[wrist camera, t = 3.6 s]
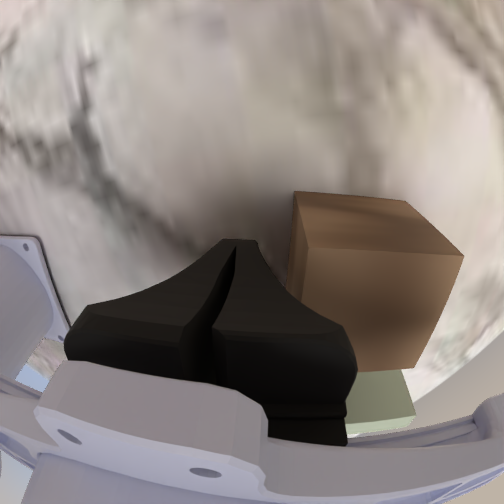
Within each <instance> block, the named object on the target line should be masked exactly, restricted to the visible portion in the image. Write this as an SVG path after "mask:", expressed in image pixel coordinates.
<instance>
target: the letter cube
mask: <svg viewBox="0 0 504 504" xmlns="http://www.w3.org/2000/svg"><path fill="white" fill-rule="evenodd" d="M463 258H464V255H463V254H462V253H461V252H460V251H459V250H458V249H457V248H456V247H455V246H454V245H453V244H452V243H451V242H450V241H449V240H448V239H447V238H446V237H445V236H444V235H443V234H442V233H441V232H439V231H438V230H437V229H436V228H435V227H434V226H433V225H432V224H431V223H430V222H429V221H428V220H427V219H425V218H424V217H423V216H422V215H421V214H420V213H419V212H418V211H416V210H415V209H414V208H413V207H412V206H411V205H410V204H408V203H407V202H406V201H400V200H392V199H383V198H374V197H364V196H353V195H342V194H330V193H317V192H302V191H294V204H293V217H292V229H291V240H290V251H289V262H288V272H287V282H286V290H287V291H288V292H289V293H290V294H291V295H292V296H294V297H295V298H296V299H297V300H299V301H300V302H301V303H303V304H304V305H305V306H307V307H308V308H310V309H312V310H313V311H315V312H316V313H318V314H320V315H321V316H323V317H326V318H328V319H330V320H332V321H334V322H336V323H338V324H340V325H342V326H343V327H344V329H345V331H346V334H347V336H348V338H349V340H350V342H351V345H352V347H353V350H354V353H355V356H356V360H357V366H358V372H374V371H388V370H399V369H409V368H414V367H415V365H416V363H417V361H418V360H419V358H420V356H421V354H422V352H423V350H424V348H425V347H426V345H427V343H428V341H429V339H430V337H431V335H432V333H433V331H434V329H435V327H436V324H437V322H438V320H439V318H440V316H441V314H442V311H443V309H444V307H445V305H446V302H447V300H448V298H449V295H450V293H451V290H452V288H453V285H454V283H455V280H456V278H457V275H458V272H459V270H460V267H461V264H462V261H463Z"/></svg>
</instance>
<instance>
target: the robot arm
mask: <svg viewBox="0 0 504 504" xmlns="http://www.w3.org/2000/svg"><path fill="white" fill-rule="evenodd" d="M43 337H44V338H47V339H51V340H54V341H58V342H62V343H64V351H65V353H66V356H67V358H68V361H63V362H62V363H61V364H60V366H59V367H58V368H57V370H56V371H55V373H54V375H53V376H52V378H51V380H50V381H49V383H48V385H47V387H46V388H45V390H44V392H43V393H42V392H39V391H37V390H35V389H33V388H30V387H28V386H26V385H24V384H22V383H19V382H17V381H15V379H16V377H17V375H18V374H19V372H20V371H21V369H22V367H23V366H24V365H25V363H26V362H27V360H28V359H29V357H30V356H31V354H32V353H33V352H34V350H35V349H36V347H37V346H38V344H39V343H40V342H41V340H42V339H43ZM357 372H358V366H357V360H356V356H355V353H354V350H353V347H352V345H351V342H350V340H349V338H348V336H347V334H346V331H345V329H344V327H343V326H342V325H340V324H338V323H336V322H334V321H332V320H330V319H328V318H326V317H323V316H321V315H320V314H318V313H316V312H315V311H313V310H312V309H310V308H308V307H307V306H305V305H304V304H303V303H301V302H300V301H299V300H297V299H296V298H295V297H294V296H292V295H291V294H290V293H289V292H288V291H287V290H286V289H285V288H284V287H283V286H282V285H281V284H280V282H279V281H278V280H277V279H276V277H275V276H274V275H273V273H272V272H271V270H270V269H269V267H268V266H267V264H266V262H265V260H264V259H263V257H262V255H261V252H260V250H259V247H258V243H257V242H256V241H255V240H240V239H222V240H221V241H220V242H219V243H218V244H216V245H215V246H214V247H213V248H212V249H211V250H209V251H208V252H207V253H206V254H205V255H203V256H202V257H201V258H200V259H198V260H197V261H196V262H194V263H193V264H191V265H190V266H189V267H187V268H186V269H184V270H183V271H181V272H180V273H178V274H176V275H174V276H173V277H171V278H169V279H167V280H165V281H163V282H161V283H159V284H157V285H154V286H152V287H150V288H147V289H145V290H143V291H140V292H137V293H134V294H131V295H128V296H125V297H122V298H118V299H114V300H110V301H105V302H100V303H96V304H91V305H87V306H86V308H85V309H84V310H83V312H82V313H81V314H80V316H79V317H78V318H77V320H76V321H75V323H74V324H73V326H72V327H71V328H69V326H68V323H67V321H66V319H65V316H64V314H63V311H62V309H61V306H60V304H59V301H58V298H57V296H56V293H55V290H54V287H53V284H52V282H51V279H50V276H49V273H48V269H47V266H46V263H45V260H44V257H43V253H42V250H41V246H40V243H39V241H38V240H37V239H36V238H34V237H22V236H0V449H1V450H3V451H4V452H6V453H7V454H9V455H10V456H11V457H13V458H14V459H16V460H17V461H19V462H20V463H22V464H23V465H25V466H27V467H28V468H30V469H31V470H33V473H32V476H31V478H30V481H29V483H28V486H27V489H26V492H25V494H24V497H23V499H22V502H21V504H442V503H445V502H447V501H450V500H452V499H454V498H457V497H459V496H462V495H464V494H466V493H468V492H470V491H473V490H475V489H477V488H479V487H481V486H483V485H485V484H487V483H489V482H491V481H492V480H493V479H495V478H496V477H498V476H499V475H501V474H502V473H503V472H504V393H502V394H499V395H496V396H493V397H490V398H488V399H486V400H485V401H484V402H482V404H480V405H479V406H478V408H477V409H476V410H475V411H474V413H473V414H472V415H469V416H466V417H462V418H459V419H455V420H451V421H447V422H444V423H440V424H435V425H431V426H426V427H422V428H417V429H412V430H407V431H401V432H396V433H388V434H382V435H375V436H366V437H357V438H347V432H346V425H345V419H344V418H345V417H346V416H347V407H346V399H347V397H348V395H349V393H350V390H351V388H352V386H353V384H354V382H355V380H356V376H357ZM0 476H1V451H0Z"/></svg>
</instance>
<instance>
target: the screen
mask: <svg viewBox="0 0 504 504" xmlns="http://www.w3.org/2000/svg"><path fill="white" fill-rule="evenodd" d="M346 407H347V416H346V417H345V418H344V419H345V425H346V432H347V434H358V433H367V432H375V431H382V430H389V429H396V428H401V427H407V426H408V425H409V424H410V422H411V421H412V420H413V419H414V418H415V416H416V412H415V409H414V406H413V403H412V400H411V397H410V394H409V391H408V388H407V385H406V382H405V379H404V376H403V374H402V371H401V369H399V370H388V371H374V372H357V376H356V380H355V382H354V384H353V386H352V388H351V390H350V393H349V395H348V397H347V399H346Z"/></svg>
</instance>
